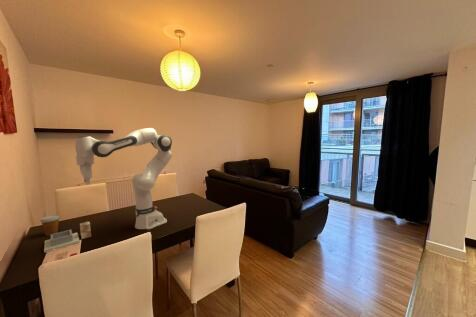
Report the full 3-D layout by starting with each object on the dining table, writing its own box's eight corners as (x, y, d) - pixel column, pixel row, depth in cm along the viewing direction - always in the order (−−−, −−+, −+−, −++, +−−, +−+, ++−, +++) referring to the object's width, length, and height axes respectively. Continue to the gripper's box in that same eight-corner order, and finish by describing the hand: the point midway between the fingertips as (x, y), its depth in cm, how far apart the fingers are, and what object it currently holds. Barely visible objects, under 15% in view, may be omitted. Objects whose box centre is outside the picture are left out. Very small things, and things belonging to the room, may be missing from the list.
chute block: (90, 233, 137) (89, 221, 136) (91, 236, 133) (90, 223, 132) (80, 236, 134) (79, 223, 133) (81, 239, 130) (80, 225, 129)
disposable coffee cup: (55, 229, 144) (54, 213, 143) (63, 231, 141) (62, 215, 139) (38, 235, 135) (37, 218, 134) (47, 238, 132) (45, 220, 131)
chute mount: (77, 234, 136) (76, 226, 136) (79, 242, 125) (78, 234, 125) (45, 243, 125) (44, 234, 125) (44, 252, 114) (43, 243, 114)
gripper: (94, 162, 120) (95, 184, 122) (89, 160, 135) (90, 180, 137) (81, 163, 116) (82, 186, 117) (77, 160, 131) (79, 181, 132)
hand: (87, 183), depth 127 cm, fingers open, 8 cm apart
